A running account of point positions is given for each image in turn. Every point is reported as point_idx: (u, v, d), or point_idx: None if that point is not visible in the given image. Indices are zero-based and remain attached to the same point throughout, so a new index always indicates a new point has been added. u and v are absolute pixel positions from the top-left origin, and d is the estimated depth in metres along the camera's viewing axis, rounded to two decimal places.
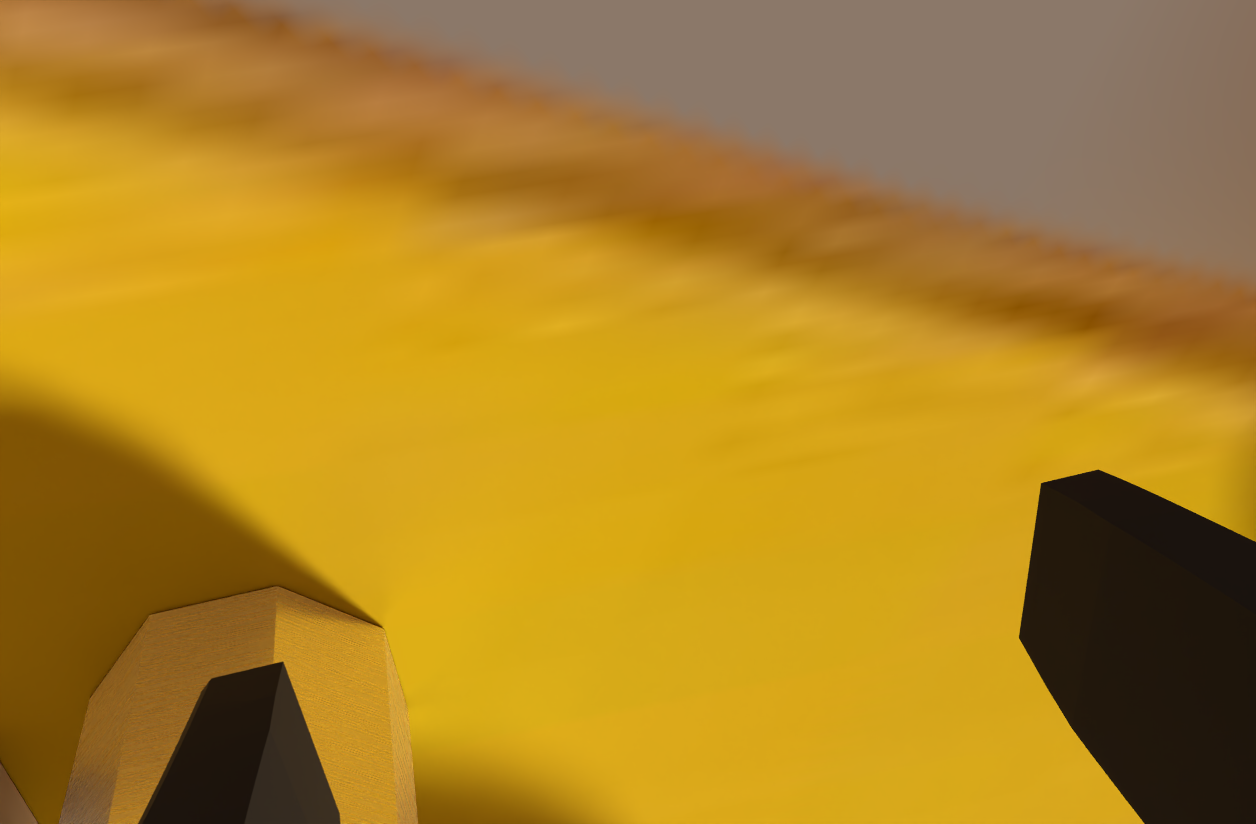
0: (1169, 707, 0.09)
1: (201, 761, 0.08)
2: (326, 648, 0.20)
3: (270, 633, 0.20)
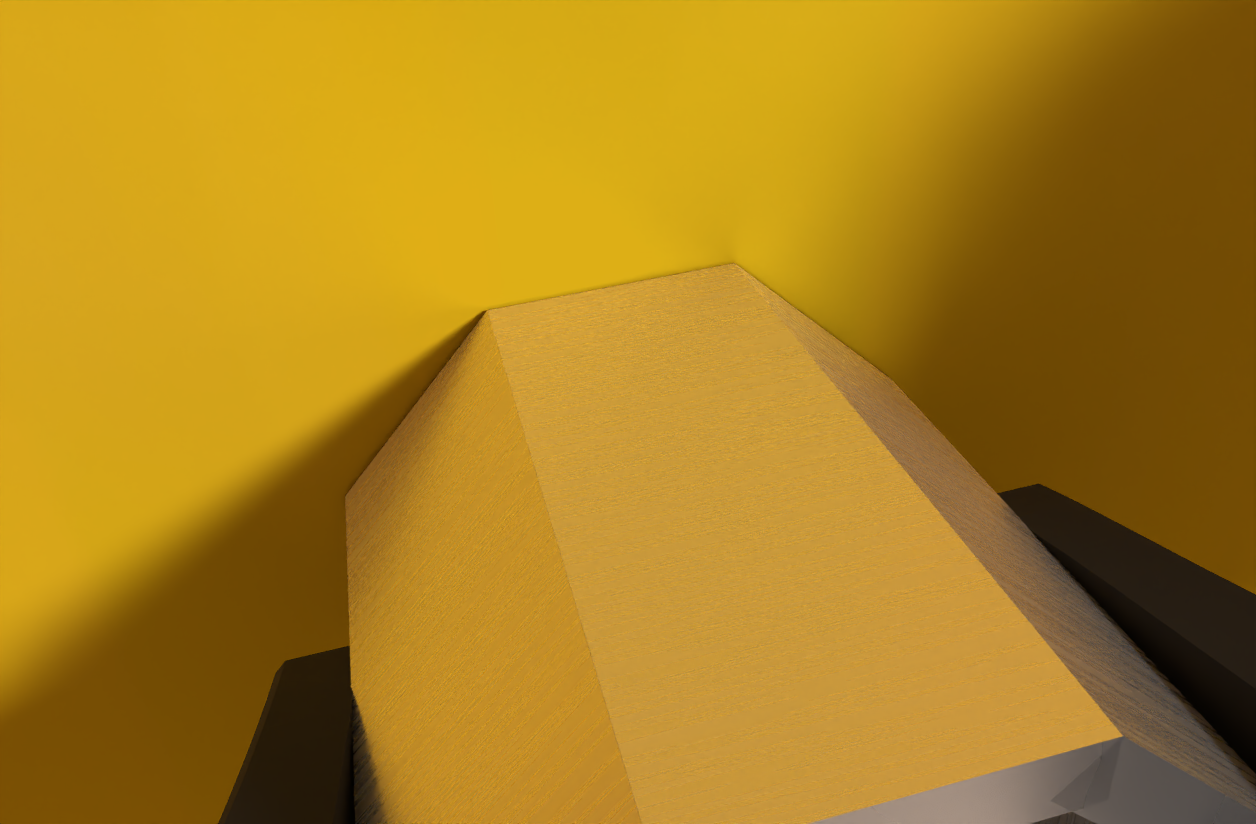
0: None
1: (286, 740, 0.08)
2: (415, 489, 0.09)
3: None
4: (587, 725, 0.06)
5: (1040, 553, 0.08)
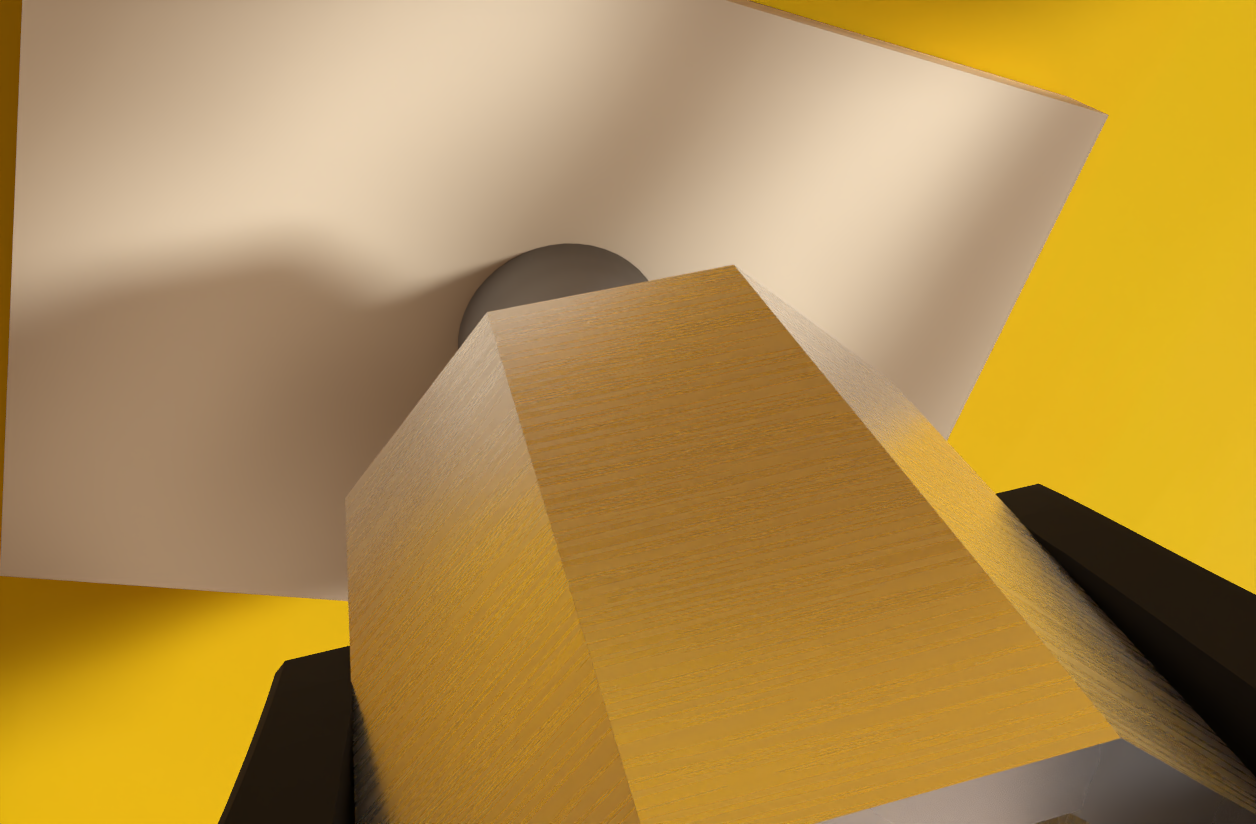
0: None
1: (286, 740, 0.08)
2: (415, 491, 0.09)
3: None
4: (587, 727, 0.06)
5: (1039, 554, 0.08)
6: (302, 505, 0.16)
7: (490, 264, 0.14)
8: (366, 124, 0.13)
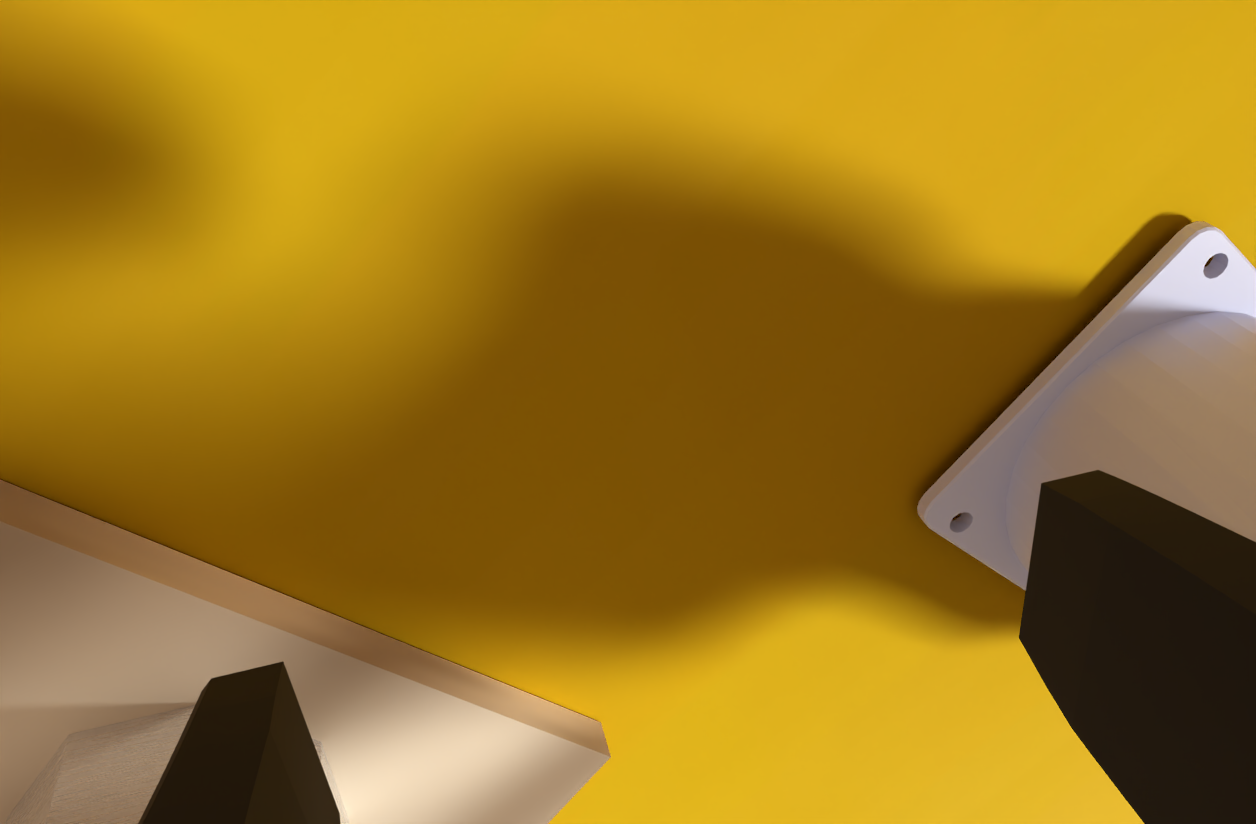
0: (1170, 708, 0.09)
1: (201, 761, 0.08)
2: None
3: None
4: None
5: None
6: None
7: None
8: (81, 681, 0.19)
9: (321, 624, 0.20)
